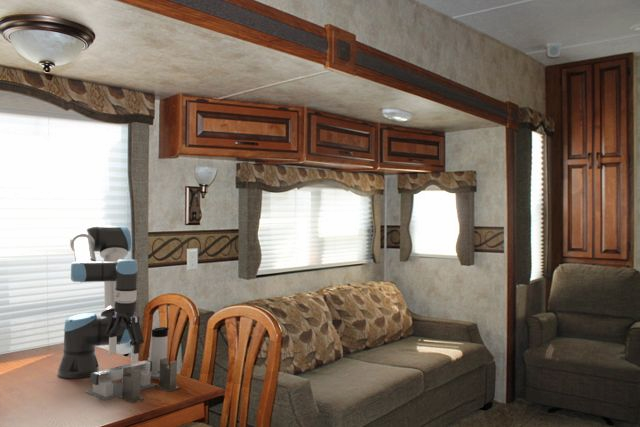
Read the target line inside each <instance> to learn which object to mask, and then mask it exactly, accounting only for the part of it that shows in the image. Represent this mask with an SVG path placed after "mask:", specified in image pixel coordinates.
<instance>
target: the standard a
mask: <svg viewBox="0 0 640 427" xmlns="http://www.w3.org/2000/svg"><path fill="white" fill-rule="evenodd" d="M122 382H123V387H122V395H120V396H118V397H117V398H118V399H119V400H120V399H121V400H122V401H125V402H127V403H131V404H134V403H137V402H142V401H144V400H145V397H143V396H141V390H140V386H141V370H136V371H132V367H131V366H130V367H126V368H123V378H122Z"/></svg>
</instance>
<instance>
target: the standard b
mask: <svg viewBox="0 0 640 427" xmlns="http://www.w3.org/2000/svg"><path fill="white" fill-rule="evenodd" d="M177 372H178V360H172V361H169V357H167V358H164V359H160V375H159V379H158V382H159V383H158V384H157V385H156V386H154V387H155V388H157V389H160V390H161V391H166V392H168V393H169V392H173V391H177V390H179V389H181V387H180V386H178V385H177V374H178V373H177Z"/></svg>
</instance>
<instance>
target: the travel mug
mask: <svg viewBox="0 0 640 427" xmlns="http://www.w3.org/2000/svg"><path fill="white" fill-rule="evenodd" d="M168 330H169V327H165V326H163V327H156V328H153V329H151V339H150V340H151V342H150V361H152V371H149V373H151V378H150V380H159V375H160V359H164V358H168V339H169V337H168V336H169V335H168V333H169V331H168Z"/></svg>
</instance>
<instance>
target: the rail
mask: <svg viewBox="0 0 640 427" xmlns="http://www.w3.org/2000/svg"><path fill="white" fill-rule="evenodd" d="M130 366H131V367H132V371H136V370H141V374H142V373H145V372H148V373H150V371H152V361H151V360H148V359H145V360H142V361H141V360H140V361H137V362H133V363H130V364H128V363H127V364H124V365H121V366H115V367H112V368H108V369H103V370H99V371H98V372H94V373H93V372H92V373H91V376H90V380H89V381H90V384H92V385H93V384H94V385H99V384H103V383H106V382H113V381H118V380H121V379H122V380H123V368H126V367H130Z"/></svg>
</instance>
